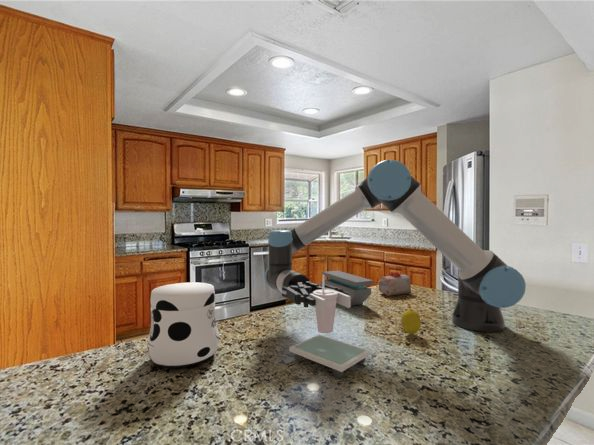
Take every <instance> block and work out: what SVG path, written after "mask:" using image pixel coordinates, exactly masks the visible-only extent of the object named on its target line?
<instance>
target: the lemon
mask: <svg viewBox="0 0 594 445" xmlns="http://www.w3.org/2000/svg"><path fill="white" fill-rule="evenodd" d="M421 322H422V321H421V316H420V315H419V313H418V312H417V311H416V310H413V309H412V308H409V309H407V310H405V311H404V312H403V314H402V316H401V324H400V325H401V327H402V329H403V331H405V332H406V334H407V333H408V335H409V336H413V335H414V334H416V333H418V332H419V331H420V329H421Z"/></svg>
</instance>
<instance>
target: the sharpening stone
mask: <svg viewBox="0 0 594 445" xmlns="http://www.w3.org/2000/svg"><path fill="white" fill-rule="evenodd" d="M321 275H325V276H324V277H325V278H326V277H327V279H324V283H326V284H328V285H331V286H334V287H338V288H341V289H343V294H346V295H348V296H351V307H352V306H358V305H359V306H360V305H363V304H364V303H365V301H366V300H368V298H369V297H370V296H371V295H372V288H371V287H367V286H371V285H374V280H373V279H369V278H365V277H363V276H358V275H356V274H351V273H348V272H344V271H341V270H329V271H322V274H321Z"/></svg>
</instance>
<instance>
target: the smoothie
mask: <svg viewBox="0 0 594 445" xmlns="http://www.w3.org/2000/svg"><path fill="white" fill-rule="evenodd" d="M321 275H322V274H321ZM325 277H326V276H325V275H322V278H321V283H322V289H320V290H315V291H313V294H314V295H316V296H318V297H321V298H323V299H325V300H326V311H325V312H322V311H320V310H318V309H317V308H315V307H314V309H315V317H316V326H317V327H316V328H317V332H318V333H319V334H320V333H321V334H330V333H332V332H334V324H335V315H336V309H337V303H336V302H337V297H338V292H337V291H335V290H329V289H324V280H325Z"/></svg>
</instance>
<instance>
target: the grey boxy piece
mask: <svg viewBox="0 0 594 445" xmlns="http://www.w3.org/2000/svg"><path fill="white" fill-rule="evenodd" d="M411 290H412V285H411V277H410V276H408V275H407V274H401V273H399V272H393V271H391V272H390V273H389V275H387V276H382V277H381V278H380V279H379V280H378V291H379V292H381V293H382V294H383V295H385V296H387V297H393V296H399V295H407V294H411V293H412V291H411Z"/></svg>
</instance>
